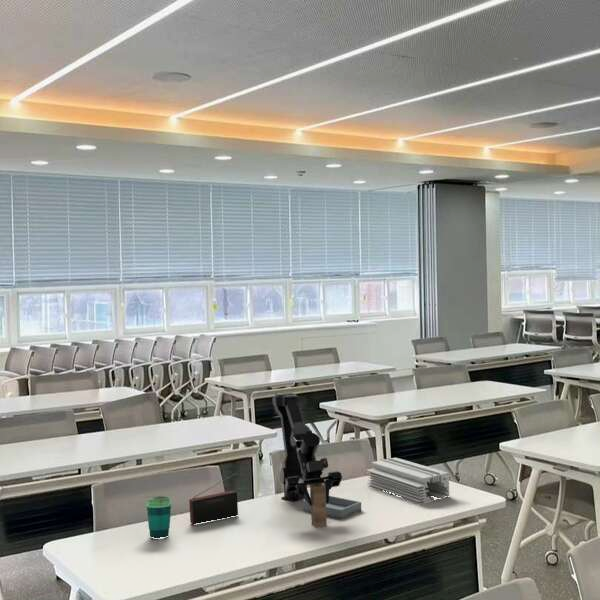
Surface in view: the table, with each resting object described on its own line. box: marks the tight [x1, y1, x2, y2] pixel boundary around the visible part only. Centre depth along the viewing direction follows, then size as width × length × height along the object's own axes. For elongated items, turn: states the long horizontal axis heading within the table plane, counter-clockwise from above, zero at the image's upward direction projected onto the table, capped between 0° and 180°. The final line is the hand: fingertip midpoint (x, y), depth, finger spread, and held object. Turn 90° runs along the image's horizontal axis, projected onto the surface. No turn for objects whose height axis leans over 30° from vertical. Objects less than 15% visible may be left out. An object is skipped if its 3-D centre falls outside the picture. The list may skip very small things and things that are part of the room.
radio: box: [188, 471, 240, 525], centre depth 268 cm, size 19×3×15 cm, turn 120°
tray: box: [302, 495, 362, 520], centre depth 273 cm, size 17×11×3 cm, turn 48°
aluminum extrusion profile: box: [366, 457, 450, 505], centre depth 292 cm, size 14×31×10 cm, turn 31°
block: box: [309, 483, 328, 528], centre depth 258 cm, size 4×4×13 cm
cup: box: [145, 495, 173, 538], centre depth 254 cm, size 8×8×12 cm
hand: (319, 504), depth 257 cm, fingers open, 5 cm apart
